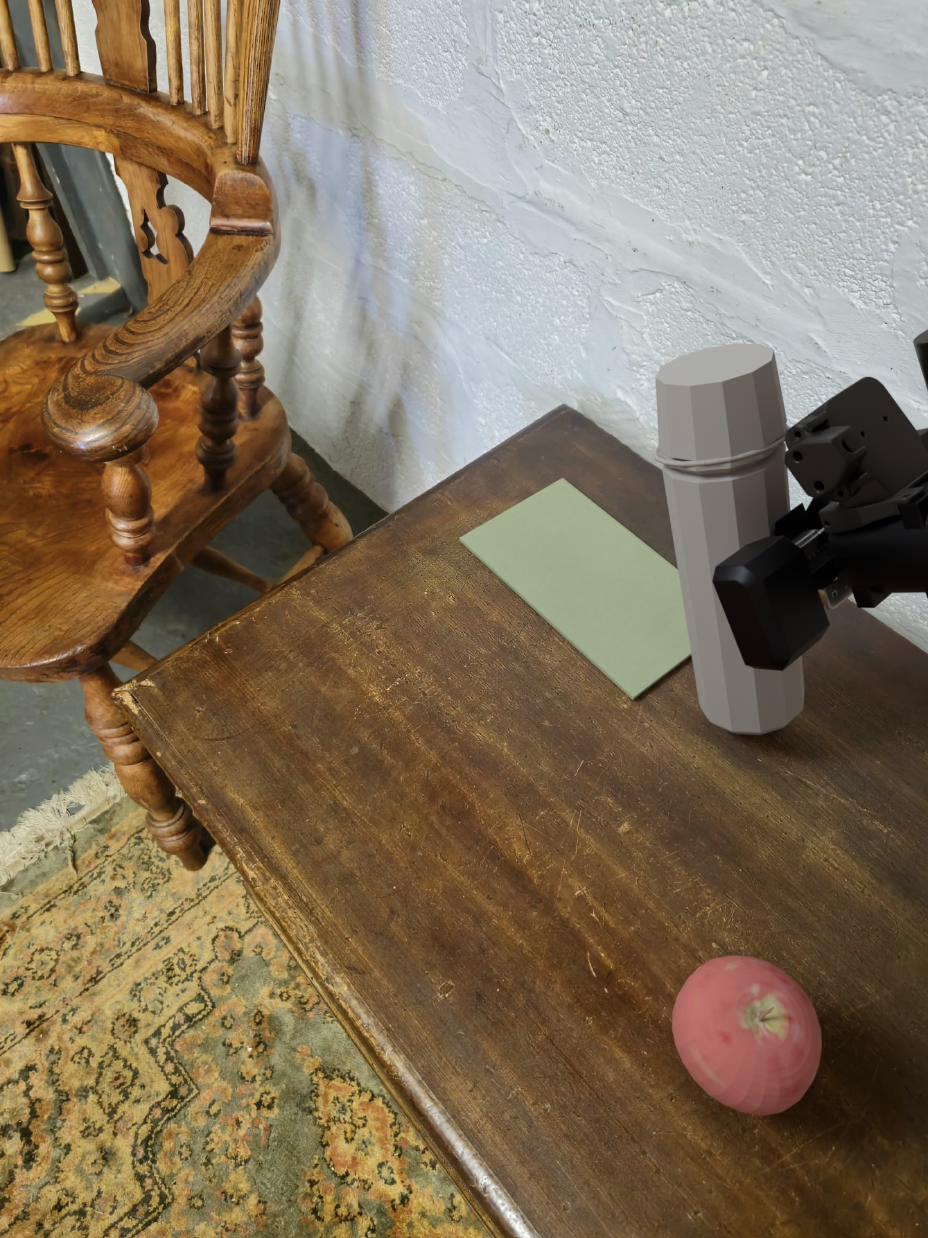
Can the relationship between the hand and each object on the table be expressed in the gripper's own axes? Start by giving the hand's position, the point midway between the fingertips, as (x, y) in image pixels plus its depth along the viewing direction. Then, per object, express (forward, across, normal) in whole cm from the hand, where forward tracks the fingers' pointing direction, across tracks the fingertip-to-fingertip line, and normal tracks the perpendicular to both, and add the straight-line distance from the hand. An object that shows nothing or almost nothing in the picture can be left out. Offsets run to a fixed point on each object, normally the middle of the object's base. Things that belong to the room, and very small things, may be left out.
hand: (734, 550), depth 55 cm
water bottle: (+4, 0, +12) cm, 13 cm away
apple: (-5, +19, +22) cm, 30 cm away
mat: (+16, 0, +2) cm, 16 cm away
